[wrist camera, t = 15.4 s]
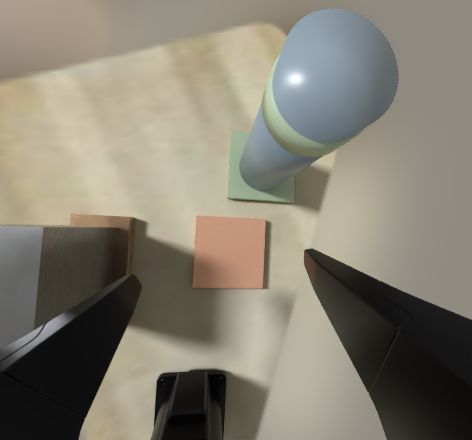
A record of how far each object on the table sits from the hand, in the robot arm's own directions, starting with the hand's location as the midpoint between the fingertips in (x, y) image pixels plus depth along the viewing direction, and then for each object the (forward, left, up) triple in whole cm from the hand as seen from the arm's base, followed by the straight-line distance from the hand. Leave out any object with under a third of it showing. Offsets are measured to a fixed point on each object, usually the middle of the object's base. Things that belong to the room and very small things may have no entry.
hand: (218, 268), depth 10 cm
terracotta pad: (0, -1, -10) cm, 10 cm away
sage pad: (+9, -4, -10) cm, 14 cm away
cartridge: (+9, -4, -9) cm, 13 cm away
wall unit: (-2, +11, -10) cm, 15 cm away
